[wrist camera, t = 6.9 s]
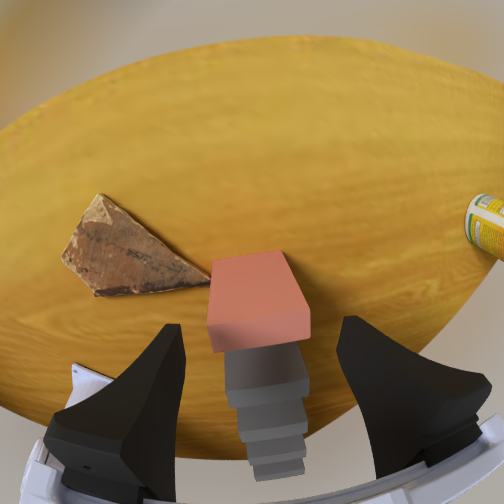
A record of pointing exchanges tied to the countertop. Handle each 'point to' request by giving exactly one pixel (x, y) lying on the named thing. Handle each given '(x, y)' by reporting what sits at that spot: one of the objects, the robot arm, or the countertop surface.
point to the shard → (125, 255)
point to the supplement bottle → (486, 224)
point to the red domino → (255, 303)
